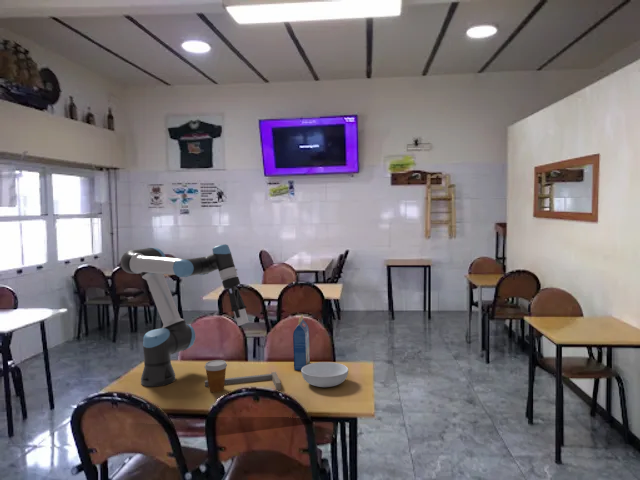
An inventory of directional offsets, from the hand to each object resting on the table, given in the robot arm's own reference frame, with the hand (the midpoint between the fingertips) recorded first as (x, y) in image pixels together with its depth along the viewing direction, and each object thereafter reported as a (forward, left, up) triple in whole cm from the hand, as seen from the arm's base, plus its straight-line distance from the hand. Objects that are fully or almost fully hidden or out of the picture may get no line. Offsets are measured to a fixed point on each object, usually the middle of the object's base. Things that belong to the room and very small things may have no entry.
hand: (243, 324), depth 216 cm
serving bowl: (+34, -10, -28) cm, 45 cm away
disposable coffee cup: (-13, -3, -28) cm, 31 cm away
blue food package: (+29, +17, -28) cm, 44 cm away
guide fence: (-2, -3, -27) cm, 28 cm away
